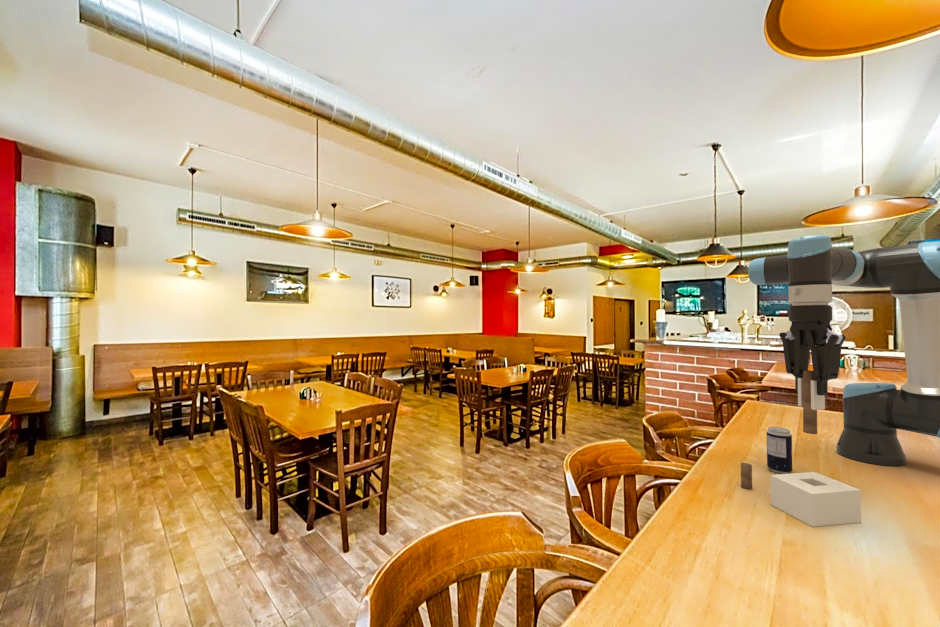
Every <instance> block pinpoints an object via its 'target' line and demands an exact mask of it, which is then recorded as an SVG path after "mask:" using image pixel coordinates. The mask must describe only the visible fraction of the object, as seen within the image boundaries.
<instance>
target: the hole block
mask: <svg viewBox="0 0 940 627" xmlns="http://www.w3.org/2000/svg"><path fill="white" fill-rule="evenodd" d="M769 476H770V477H769V478H770V479H769V482H770V483H769V487H770V493H769V494H770V505H771V506H773V507H774V508H777V509H779V510H781V511H782V512H784V513H786V514H787V515H790V516H791V517H793V518H795V519H797V520H799V521H800V522H803V523H805V524H807V525H808V526H810V527H812V528H815V527H827V526H837V525H848V524H858V523H859V524H860V523H862V496H861V495H862V494H861V493H862V490H861V489H859V488H856V487H854V486H851V485H849V484H846V483H844V482H841V481H839V480H836V479H834V478H831V477H828V476H826V475H823V474H822V473H818V472H816V471H805V472H793V473H791V472H790V473H788V474H780V473H777V474H770V475H769Z"/></svg>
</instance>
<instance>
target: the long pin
mask: <svg viewBox="0 0 940 627" xmlns="http://www.w3.org/2000/svg"><path fill="white" fill-rule="evenodd" d="M812 378H814V372H813V370H809V369H808V370H803V407H802V425H803V426H802V427H803V428H802V429H803V430H802V431H803V433H805V434H809V435H818V410H813V409H811V380H812Z"/></svg>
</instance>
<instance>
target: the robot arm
mask: <svg viewBox="0 0 940 627" xmlns="http://www.w3.org/2000/svg"><path fill="white" fill-rule="evenodd" d="M787 246H788V247H787V254H782V255H773V256H764V257H760V258H755V259H753V260H751V262H750V263H749V265H748V266H747V276H748V279H749V281H750V282H751V283H752V284H754V285H756V286H769V285H771V286H772V285H787V284H788V303H789V304H791V305H790V306H789V307H788V321H790V322H791V325H790V327H789V330H787V331H786V332H780V333H779V338H780V339H781V343H782V347H783V348H782V349H783V355H784V356H783V357H784V364H785V371H786V373H787V374H791V375H793V377H794V378H795V380H794V381H795V387H794V388H795V390H796V392H797V406H798V407H801V408H803V370H809V363H810V355H811V362H812V369H813V370H812V371H813V372H814V378H812V380H811V409H813V410H817V411H818V410H820V411H821V410H822V411H823V410H826V396H828V392H829V391H828V388H829V387H828V386H829V384H828V383H829V382H828V381H830V380H836V379H838V378H839V371H840V363H841V353H842V347H843V346H842V345H843V344H844V342H845V340H846V338H847V337H846V335H845V334H838V333H836V332H834V331H833V328H832V326H831V322H832V321H833V306H832V305H831V304H829V303H833V287H832V286H837V287H838V286H839V287H855V288H868V289H870V288H871V289H872V288H874V289H879V288H880V289H884V288H889V291H890V295H891V296H893V297H894V298H895V299H897V300H898V301H899V311H900V321H901V330H902V339H903V340H902V341H903V348H904V359H905V360H904V361H905V368H906V377H907V378H906V379H907V381H906V382H905V383H903V384H902V385H900V389H898V387H897V385H896V384H895V383H889V382H888V383H887V382H855V383H848V384H846V385H844V387H843V392H842V397H841V398H842V409H843V410H842V411H843V412H842V414H843V415H842V417H843V430H842V432H841V434H840V435H839V436H840V437H839V438H838V442H837V443H836V453H838V454H839V455H840V456H843V457H845V458H848V459H852V460H855V461H859V462H862V463H863V462H864V463H868V464H872V465H880V466H889V467H893V466H894V467H900V466H905V465H906V464H907V456H906V454H905V452H904V450H903V447H902V445H901V442H900V440H899V439H898V435H897V434H898V431H897V430H899V431H900V430H901V431H906V432H910V433H915V434H916V433H917V434H921V435H926V436H931V437H936V438H939V439H940V240H939V241H922V242H918V243H917V242H916V243H911V244H909V243H908V244H903V245H902V244H901V245H896V246H888V247H887V246H885V247H878V248H877V247H876V248H870V249H865V250H861V251H856V250H854V249H850V248H846V247H833V244H832V238H831V237H830V236H829V235H826V234H814V235H813V234H811V235H806V236H799V237H795V238H793V239H791V240H790V241H789V242H788V244H787Z"/></svg>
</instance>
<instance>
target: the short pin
mask: <svg viewBox="0 0 940 627" xmlns="http://www.w3.org/2000/svg"><path fill="white" fill-rule="evenodd" d="M740 487H741V488H742V489H745V490H753V465H752V464H750V463H747V462H741V463H740Z"/></svg>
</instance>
